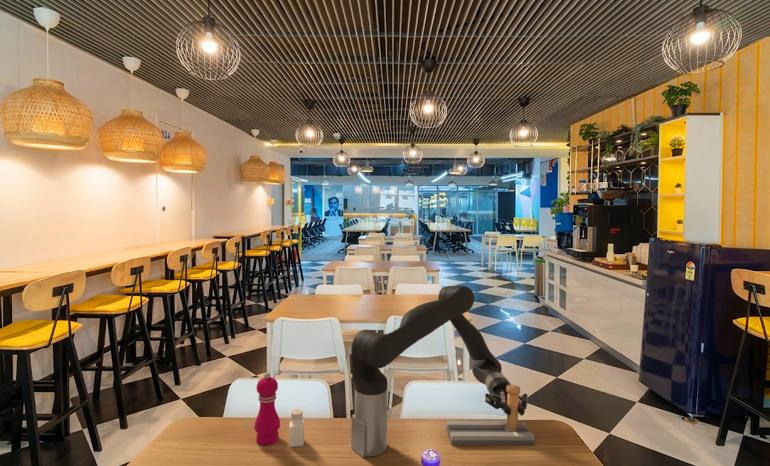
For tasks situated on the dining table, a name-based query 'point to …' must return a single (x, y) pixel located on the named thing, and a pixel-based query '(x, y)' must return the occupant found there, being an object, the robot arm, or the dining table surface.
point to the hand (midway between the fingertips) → (515, 412)
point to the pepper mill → (267, 411)
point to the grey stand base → (487, 433)
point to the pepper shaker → (296, 428)
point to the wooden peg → (512, 408)
